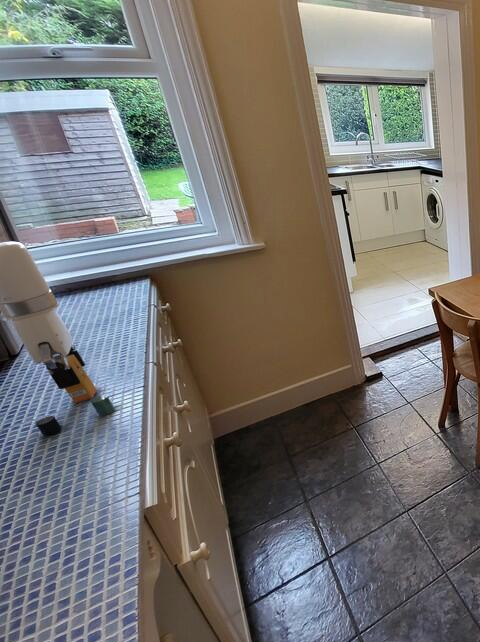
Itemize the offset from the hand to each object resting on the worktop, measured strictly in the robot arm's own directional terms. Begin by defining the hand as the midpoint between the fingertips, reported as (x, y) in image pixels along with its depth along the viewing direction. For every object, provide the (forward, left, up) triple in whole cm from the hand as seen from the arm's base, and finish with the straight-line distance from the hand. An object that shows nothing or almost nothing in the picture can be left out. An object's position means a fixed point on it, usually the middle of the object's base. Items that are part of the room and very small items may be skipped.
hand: (73, 376), depth 89 cm
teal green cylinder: (+11, -4, -6) cm, 13 cm away
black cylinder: (+6, -11, -6) cm, 13 cm away
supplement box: (0, 0, -6) cm, 6 cm away
